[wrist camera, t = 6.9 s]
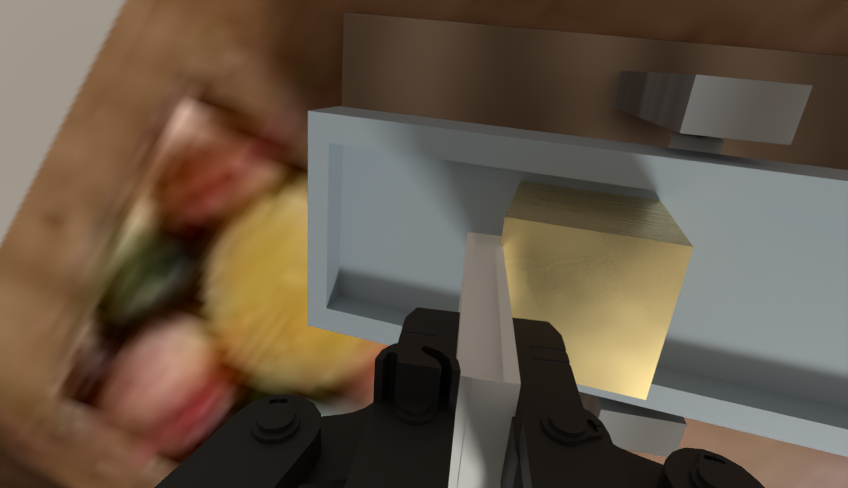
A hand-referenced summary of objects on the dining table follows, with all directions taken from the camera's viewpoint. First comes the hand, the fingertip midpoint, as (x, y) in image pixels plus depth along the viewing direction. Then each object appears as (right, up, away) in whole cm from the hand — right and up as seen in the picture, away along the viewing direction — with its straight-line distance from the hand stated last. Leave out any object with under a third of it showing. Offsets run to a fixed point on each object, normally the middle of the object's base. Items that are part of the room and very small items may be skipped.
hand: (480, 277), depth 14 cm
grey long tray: (+8, +1, +7) cm, 11 cm away
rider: (+4, +1, +3) cm, 5 cm away
